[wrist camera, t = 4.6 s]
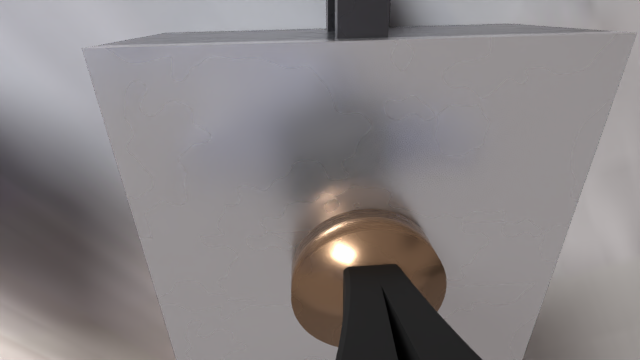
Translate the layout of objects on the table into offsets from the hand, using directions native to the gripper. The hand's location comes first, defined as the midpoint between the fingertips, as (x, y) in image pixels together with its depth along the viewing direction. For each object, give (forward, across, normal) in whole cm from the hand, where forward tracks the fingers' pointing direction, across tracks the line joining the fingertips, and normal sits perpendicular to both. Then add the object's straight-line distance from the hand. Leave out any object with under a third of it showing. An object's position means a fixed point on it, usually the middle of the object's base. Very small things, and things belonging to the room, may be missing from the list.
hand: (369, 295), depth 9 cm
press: (+6, 0, -1) cm, 7 cm away
